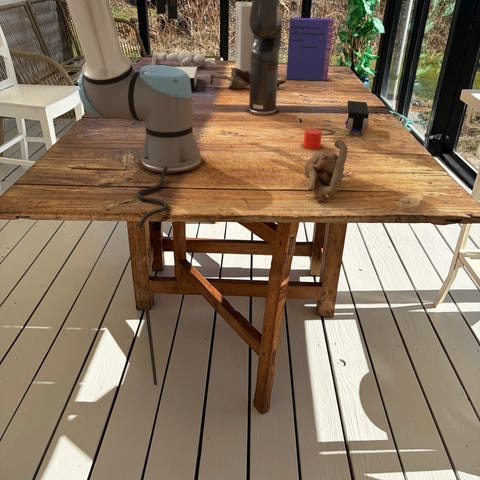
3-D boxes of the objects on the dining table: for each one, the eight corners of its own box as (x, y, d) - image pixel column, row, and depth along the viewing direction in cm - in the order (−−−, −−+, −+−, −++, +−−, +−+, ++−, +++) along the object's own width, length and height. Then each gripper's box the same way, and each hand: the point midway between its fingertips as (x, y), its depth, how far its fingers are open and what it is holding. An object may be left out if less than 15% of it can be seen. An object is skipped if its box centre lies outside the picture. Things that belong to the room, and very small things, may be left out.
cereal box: (326, 78, 209) (332, 18, 196) (327, 80, 205) (333, 19, 192) (286, 77, 210) (290, 17, 197) (286, 79, 206) (290, 18, 193)
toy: (171, 74, 211) (170, 58, 208) (148, 64, 229) (146, 49, 225) (218, 68, 223) (218, 53, 219) (192, 59, 240) (192, 44, 237)
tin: (311, 150, 132) (312, 135, 130) (299, 145, 136) (301, 130, 134) (323, 147, 135) (325, 132, 133) (312, 142, 138) (313, 127, 136)
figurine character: (367, 142, 142) (363, 122, 154) (371, 118, 138) (367, 99, 149) (344, 141, 143) (342, 120, 155) (348, 117, 138) (346, 98, 150)
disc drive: (149, 91, 185) (148, 77, 183) (156, 78, 205) (156, 65, 202) (194, 91, 186) (194, 78, 183) (197, 78, 205) (197, 66, 203)
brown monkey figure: (321, 192, 118) (322, 208, 103) (296, 168, 117) (293, 181, 103) (359, 155, 113) (365, 166, 99) (333, 130, 112) (335, 137, 98)
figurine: (210, 87, 179) (288, 95, 182) (212, 65, 176) (291, 73, 180) (208, 84, 201) (278, 91, 205) (210, 64, 198) (280, 71, 202)
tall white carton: (273, 76, 210) (276, 6, 196) (239, 77, 209) (240, 6, 194) (266, 67, 226) (268, 2, 212) (235, 67, 225) (235, 1, 210)
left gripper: (188, -72, 120) (191, 20, 131) (164, -68, 140) (168, 11, 151) (159, -73, 118) (164, 21, 129) (138, -69, 138) (145, 12, 149)
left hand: (166, 16), depth 140 cm, fingers open, 13 cm apart
